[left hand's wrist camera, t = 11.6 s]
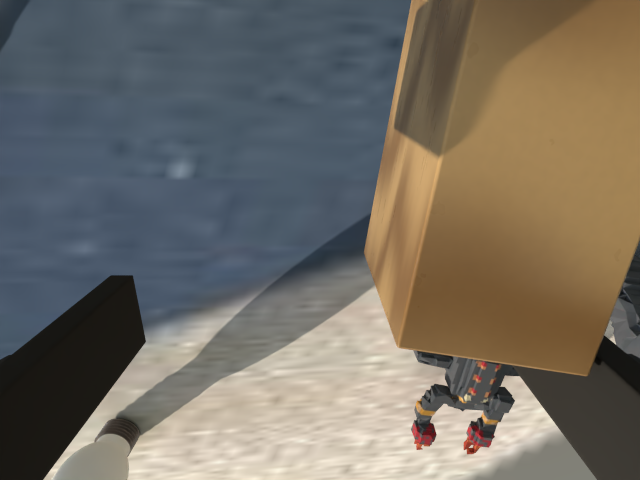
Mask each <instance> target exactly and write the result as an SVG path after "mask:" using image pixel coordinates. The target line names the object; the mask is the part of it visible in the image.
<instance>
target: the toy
mask: <svg viewBox="0 0 640 480" xmlns="http://www.w3.org/2000/svg"><path fill="white" fill-rule="evenodd" d="M610 320H611V321H612V326H613V327H614V333H613V334H614V336H615V341H616V345H617V346H618V347H619V348H620V349H622V350H623V351H624V352H625V353H627V354H633V355H635V356H637V357H639V358H640V258H639V257H637V256H636V255H634V257H633V259H632V262H631V265H630V267H629V270H628V273H627V275H626V278H625V281H624V283H623V286H622V289H621V291H620V294H619V297H618V299H617V302H616V305H615V307H614V310H613V312H612V315H611V318H610ZM414 353H415V355H416V358H417V360H418V362H420V363H424V364H428V365H432V366H437V367H442V368H446V374H445V380H446V382H447V384H448V386H443V385H438V384H434V386H431V389H430V390H426V393H425V395H424V396H422V398H421V400H420V401H417V403H416V406H415V413H416V417H417V420H416V421H415V420H414V423H413V426H412V428H411V430H412V433H413V435H414V438H415V442H414V444H417V450H420V449H422V448H421V446H422V445H423V444H424V446H430V445H431V444H432V442H434V440H435V437H436V431H435V428H434V425H433V424H432V423H430V420H431V417H432V416H433V415H434V414H435V412H436V411H437V410H438V409H439V408H440V407H441V406H442V405H443V404H444V403H445V404H447V405H448V406H451V407H454V408H458V409H460V410H462V411H464V410H465V409H470V410H484V411H483V414H482V416H481V418H478V419H477V422H474V421H471V424H470V425H469V427H468V430H467V435H468V438H467V440H466V441H465V442H464V450H466V449H467V454H474V453H476V452H477V450H478V449H479V448H480V447H481V446H482V447H489V446H490V445H491V442H492V439H493V438H494V437H495V436H494V432H495V429H496V426H497V423H498V422H501V419H502V417H503V415H504V413H509V410H510V409H511V407H512V405H513V403H514V402H515V400H514V399H513V398H512V395H511V394H510V393H509V391H508V390H507V389H506V388H505V387H499V386H501V383H502V381H503V378H504V376H505V375H507V376H520V375H519V374H518V373H517V371H516V370H515V369H514V367H513V366H512V365H509V364H502V363H495V362H489V361H482V360H476V359H469V358H462V357H456V356H449V355H442V354H436V353H429V352H423V351H416V350H414ZM471 445H474V446H473V448H469V447H470V446H471Z"/></svg>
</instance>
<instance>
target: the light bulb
mask: <svg viewBox="0 0 640 480" xmlns="http://www.w3.org/2000/svg"><path fill="white" fill-rule="evenodd" d="M139 435H140V433H139V430H138V428H137V427H136V426H135V425H134V424H133V423H131V422H129V421H127V420H124V419H112V420H109V421H108V422H107V423H106V424H105V426H104V427H103V428H102V430H101V431H100V433H99V434H98V436H97V437H96V438H95V442H94V443H91V444H89V445H87V446H85V447H83V448H81V449H80V450H78V451H77V452H75V453H74V454H73V455H72V456H70V457H69V458H68V459H67V460H66V461H65V462H64V463H63V464H62V465H61V467H60V468H59V469H58V470H57V472H56V473H55V475H54V476H53V478H52V480H127V478H128V472H129V463H128V458H127V457H128V456H129V454H130V452H131V450H132V449H133V447H134V445H135V444H136V442H137V440H138V438H139Z"/></svg>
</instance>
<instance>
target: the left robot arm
mask: <svg viewBox="0 0 640 480" xmlns="http://www.w3.org/2000/svg"><path fill="white" fill-rule="evenodd" d="M145 342H146V340H145V335H144V330H143V325H142V320H141V315H140V310H139V305H138V300H137V295H136V290H135V284H134V279H133V276H110V277H108V278H107V279H106V280H105V281H103V282H102V283H101V284H100V285H98V286H97V287H96V288H95V289H93V290H92V291H91V292H90V293H88V294H87V295H86V296H85V297H83V298H82V299H81V300H80V301H78V302H77V303H76V304H75V305H73V306H72V307H71V308H70V309H68V310H67V311H66V312H65V313H63V314H62V315H61V316H60V317H58V318H57V319H56V320H55V321H53V322H52V323H51V324H50V325H48V326H47V327H46V328H45V329H43V330H42V331H41V332H40V333H38V334H37V335H36V336H35V337H33V338H32V339H31V340H30V341H29V342H27V343H26V344H25V345H24V346H22V347H21V348H20V349H19V350H17V351H16V352H15V353H14V354H12V355H8V356H6V357H4V358H3V359H1V360H0V480H43V479H44V478H45V476H46V475H47V474H48V472H49V471H50V470H51V468H52V467H53V466H54V464H55V463H56V462H57V460H58V459H59V458H60V456H61V455H62V453H63V452H64V451H65V449H66V448H67V447H68V445H69V444H70V443H71V441H72V440H73V439H74V437H75V436H76V435H77V433H78V432H79V431H80V429H81V428H82V427H83V425H84V424H85V423H86V421H87V420H88V419H89V417H90V416H91V415H92V413H93V412H94V411H95V409H96V408H97V407H98V405H99V404H100V402H101V401H102V400H103V398H104V397H105V396H106V394H107V393H108V392H109V390H110V389H111V388H112V386H113V385H114V384H115V382H116V381H117V380H118V378H119V377H120V376H121V374H122V373H123V372H124V370H125V369H126V368H127V366H128V365H129V364H130V362H131V361H132V360H133V358H134V357H135V356H136V354H137V353H138V352H139V350H140V349H141V347H142V346H143V345H144V343H145ZM512 366H513V367H514V369H515V370H516V371H517V373H518V374H519V375H520V377H521V378H522V379H523V381H524V382H525V383H526V385H527V386H528V388H529V389H530V390H531V392H532V393H533V394H534V396H535V397H536V398H537V400H538V401H539V402H540V404H541V405H542V406H543V408H544V409H545V410H546V412H547V413H548V414H549V416H550V417H551V418H552V420H553V421H554V422H555V424H556V425H557V426H558V428H559V429H560V430H561V432H562V433H563V434H564V436H565V437H566V438H567V440H568V441H569V443H570V444H571V445H572V447H573V448H574V449H575V451H576V452H577V453H578V455H579V456H580V457H581V459H582V460H583V461H584V463H585V464H586V465H587V467H588V468H589V469H590V471H591V472H592V473H593V475H594V476H595V477H596V479H597V480H640V358H639V357H637V356H635V355H633V354H627V353H625V352H624V351H623V350H622V349H620V348H619V347H618V346H617V345H615V344H614V343H613V342H612V341H610V340H609V339H608V338H607V337H605V336H603V339H602V342H601V344H600V347H599V350H598V352H597V355H596V358H595V360H594V363H593V366H592V368H591V371H590V374H589V375H588V376H581V375H575V374H568V373H562V372H555V371H548V370H542V369H535V368H528V367H522V366H515V365H512Z"/></svg>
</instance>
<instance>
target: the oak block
mask: <svg viewBox="0 0 640 480" xmlns="http://www.w3.org/2000/svg"><path fill="white" fill-rule="evenodd" d="M639 241H640V0H412V1H411V7H410V12H409V17H408V23H407V28H406V33H405V38H404V44H403V49H402V54H401V60H400V65H399V70H398V75H397V81H396V86H395V91H394V97H393V102H392V107H391V112H390V118H389V123H388V128H387V134H386V139H385V144H384V149H383V155H382V160H381V165H380V171H379V176H378V181H377V186H376V192H375V197H374V202H373V208H372V213H371V218H370V223H369V229H368V234H367V239H366V245H365V250H364V254H365V257H366V260H367V263H368V266H369V268H370V271H371V274H372V277H373V280H374V283H375V285H376V288H377V291H378V294H379V297H380V300H381V302H382V305H383V308H384V311H385V314H386V317H387V319H388V322H389V325H390V328H391V331H392V334H393V337H394V339H395V342H396V345H397V347H399V348H403V349H409V350H416V351H423V352H429V353H436V354H442V355H449V356H456V357H462V358H469V359H476V360H482V361H489V362H495V363H502V364H509V365H515V366H522V367H528V368H535V369H542V370H548V371H555V372H562V373H568V374H575V375H581V376H588V375H589V374H590V371H591V368H592V366H593V363H594V360H595V358H596V355H597V352H598V350H599V347H600V344H601V342H602V339H603V336H604V334H605V331H606V328H607V326H608V323H609V320H610V318H611V315H612V312H613V310H614V307H615V305H616V302H617V299H618V297H619V294H620V291H621V289H622V286H623V283H624V281H625V278H626V275H627V273H628V270H629V267H630V265H631V262H632V259H633V257H634V254H635V251H636V249H637V246H638V243H639Z"/></svg>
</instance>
